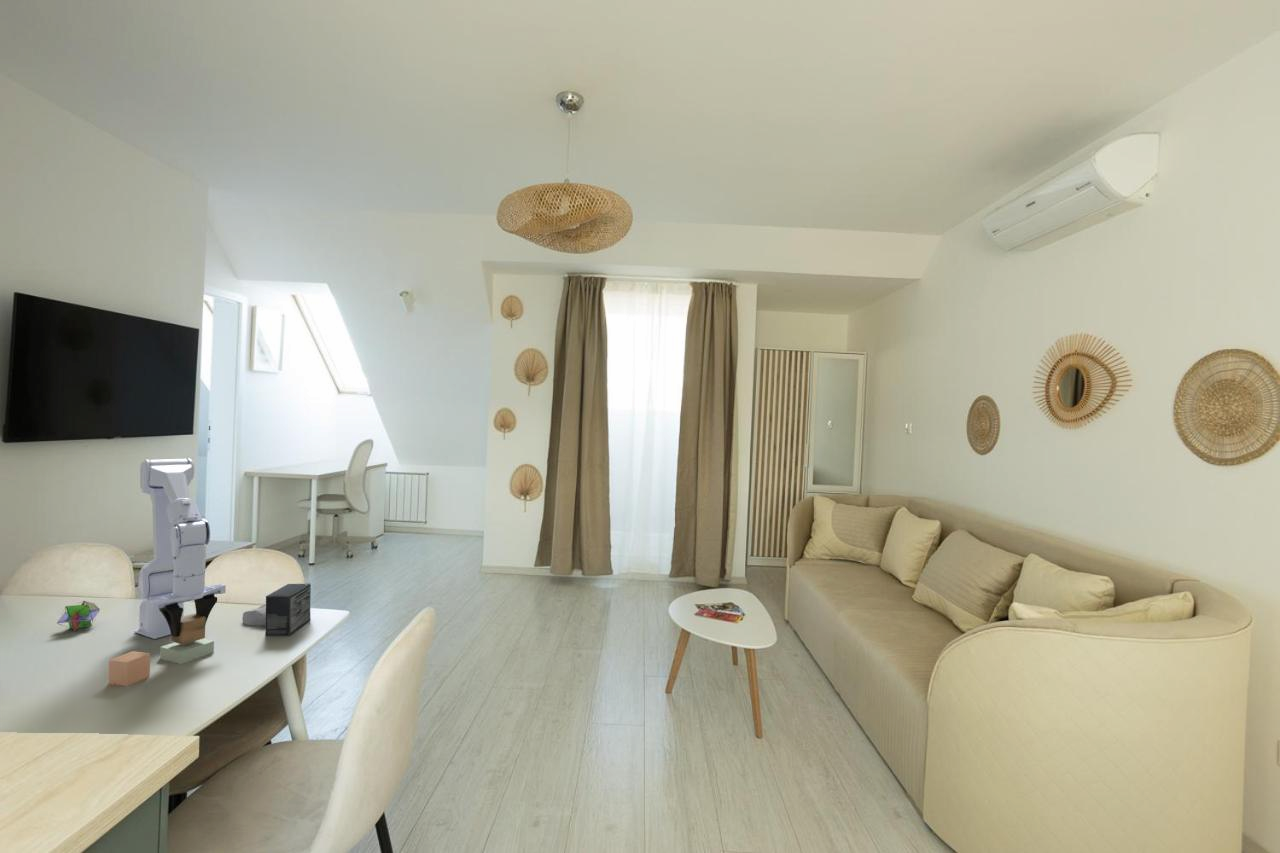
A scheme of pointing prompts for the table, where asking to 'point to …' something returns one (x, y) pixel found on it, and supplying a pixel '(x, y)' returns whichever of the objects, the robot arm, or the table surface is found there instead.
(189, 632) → the walnut block
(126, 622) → the table surface
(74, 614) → the geometric puzzle
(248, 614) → the stone block
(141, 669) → the terracotta block
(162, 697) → the table surface
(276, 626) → the small box
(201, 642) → the base block
